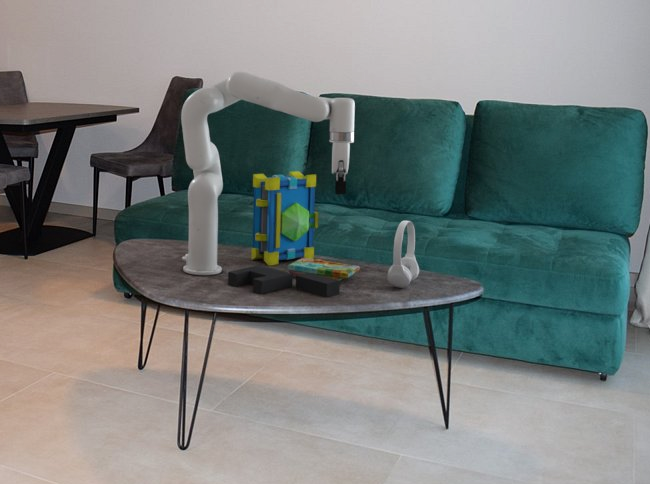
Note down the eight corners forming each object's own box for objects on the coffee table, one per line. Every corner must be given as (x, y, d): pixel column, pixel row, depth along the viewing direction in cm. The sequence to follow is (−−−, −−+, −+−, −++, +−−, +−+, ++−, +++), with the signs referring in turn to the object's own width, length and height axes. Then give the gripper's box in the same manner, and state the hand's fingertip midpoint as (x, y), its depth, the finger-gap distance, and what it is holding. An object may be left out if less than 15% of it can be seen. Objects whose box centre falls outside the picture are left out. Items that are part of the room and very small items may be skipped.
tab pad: (295, 288, 248) (295, 275, 248) (308, 285, 252) (308, 272, 252) (326, 297, 239) (327, 283, 239) (339, 293, 243) (339, 280, 243)
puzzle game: (301, 255, 271) (359, 263, 262) (300, 269, 272) (359, 278, 262) (287, 262, 261) (348, 271, 252) (287, 277, 262) (347, 286, 252)
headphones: (383, 289, 249) (386, 224, 247) (398, 276, 265) (401, 215, 263) (407, 293, 245) (409, 227, 244) (421, 279, 261) (423, 217, 260)
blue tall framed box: (320, 260, 286) (322, 174, 283) (267, 267, 274) (270, 178, 271) (294, 251, 298) (296, 170, 295) (242, 258, 286) (244, 173, 283)
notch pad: (227, 284, 252) (228, 271, 251) (259, 277, 261) (259, 264, 261) (261, 294, 241) (261, 280, 241) (292, 286, 251) (293, 273, 250)
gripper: (329, 135, 264) (328, 187, 266) (329, 139, 247) (327, 195, 249) (353, 135, 263) (352, 188, 264) (354, 140, 246) (353, 196, 247)
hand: (340, 191), depth 256 cm, fingers open, 9 cm apart
